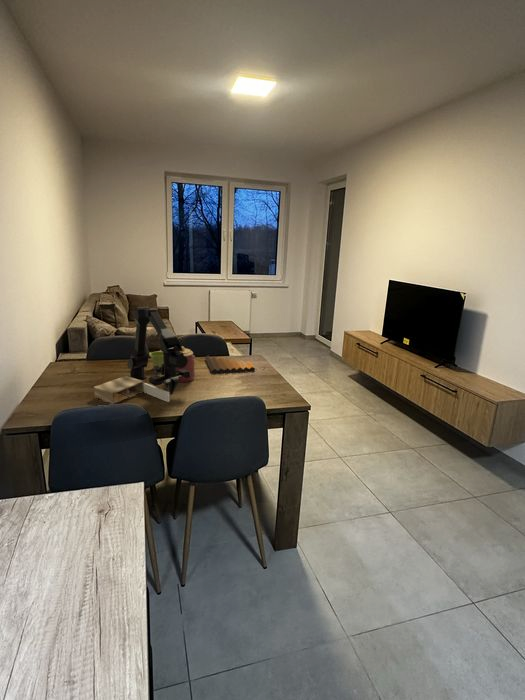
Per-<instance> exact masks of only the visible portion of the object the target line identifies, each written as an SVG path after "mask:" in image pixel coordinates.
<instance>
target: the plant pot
mask: <svg viewBox="0 0 525 700" xmlns="http://www.w3.org/2000/svg"><path fill="white" fill-rule="evenodd" d="M149 356H150V358H151V363H152V368H153V370H154V366H159V367H162V364H163V352H162V351H153V352H150V353H149Z"/></svg>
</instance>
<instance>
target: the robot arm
mask: <svg viewBox="0 0 525 700" xmlns="http://www.w3.org/2000/svg"><path fill="white" fill-rule="evenodd" d="M132 315H133V319H134V321H135V323H136V326H135V327H136V328H135V343H134V349H133V350H132V352H131V354H130V358H129V359H128V361H127V363H126V365H127V366H126V367H127V368H128V369H130V372H129V373H130V377H131V378H135V379H138V380H141V381H143V380H145V379H147V376H145V368H147V367H148V364H149V355H148V354H147V352H146V341H147V328H148V324H149V323H150V324H151V325H152V327H153V329H154V330H155V331H156V333H157V335H158V342H159V346H160V347H161V349H160V352H163V364H162V367H159V366H154V369H153V372H154V374H156V373H157V374H158V375H157V374H156V375H152V376H151V375H150V376H149V379H148V384H150V385H152V386H155V387H157V386H161V385H162V384H164V386H165V388H166V391H168V392H169V396H170V395H173V393H174V391H175V389H176V387H177V385H178V384H179V383H181V382H180V380H179V379H178V377H180V376H183V377H184V378H189V377H190V372H189V371H187V370H185V369H181V370H178V371H177V373H176V368H177V367H178V368H184V367H185V366H186V365H187V362H188V360H187V358H186V356H184V353H182V352H179V351H182V348H181V347H182V344H181V342H180V339H179V338H178V336H177V335H176V333H174V331H172V330H170V329H169V328H168V327H167V325H166V323H165V322H164V320H163V319H162V317H161V315H160V314H159V311H158V309H157V308H155V307H152V308H151V307H150V306H138V307H137V306H136V307H134V309H133V310H132ZM160 375H161V376H160ZM142 379H143V380H142Z"/></svg>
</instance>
